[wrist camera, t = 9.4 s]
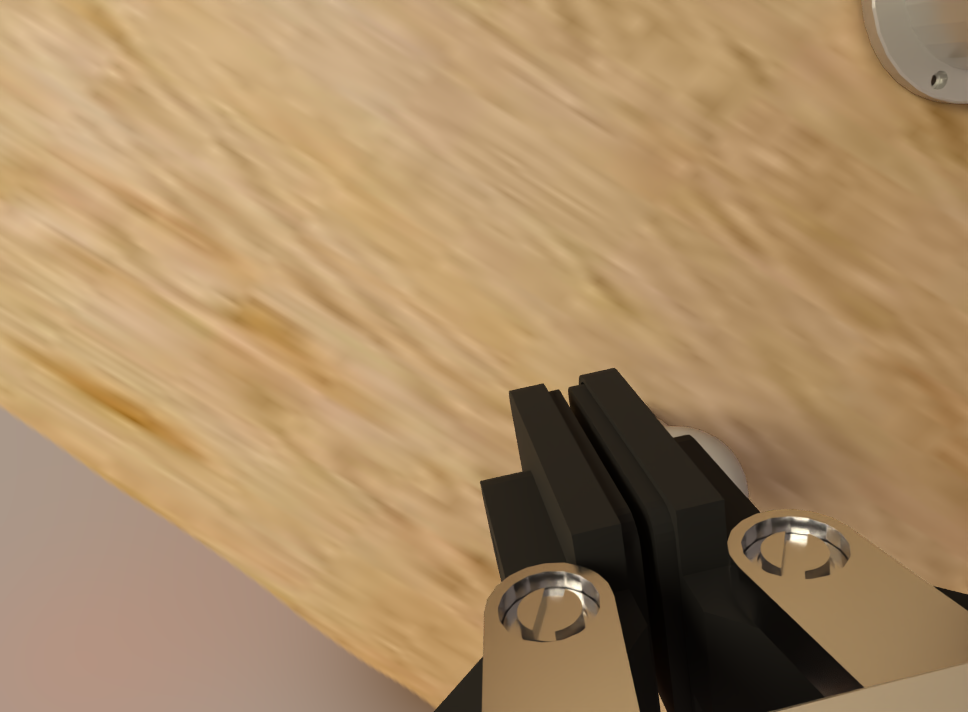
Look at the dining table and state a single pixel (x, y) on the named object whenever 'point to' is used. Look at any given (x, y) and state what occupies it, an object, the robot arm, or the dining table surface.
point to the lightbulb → (714, 453)
